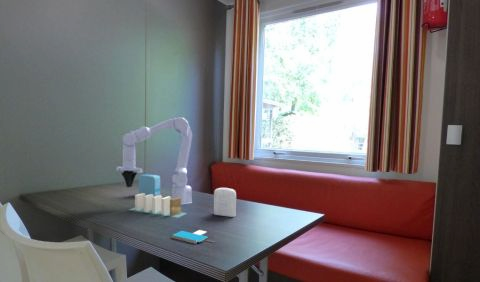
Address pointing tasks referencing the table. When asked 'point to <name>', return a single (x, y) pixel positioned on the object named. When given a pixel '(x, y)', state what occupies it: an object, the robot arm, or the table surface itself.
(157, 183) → the data package
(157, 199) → the cream domino
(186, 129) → the robot arm
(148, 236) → the table surface
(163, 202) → the cream domino
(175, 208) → the ochre domino
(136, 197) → the cream domino
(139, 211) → the teal mat
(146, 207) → the cream domino
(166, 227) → the table surface
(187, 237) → the phone stand
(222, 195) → the photo printer
